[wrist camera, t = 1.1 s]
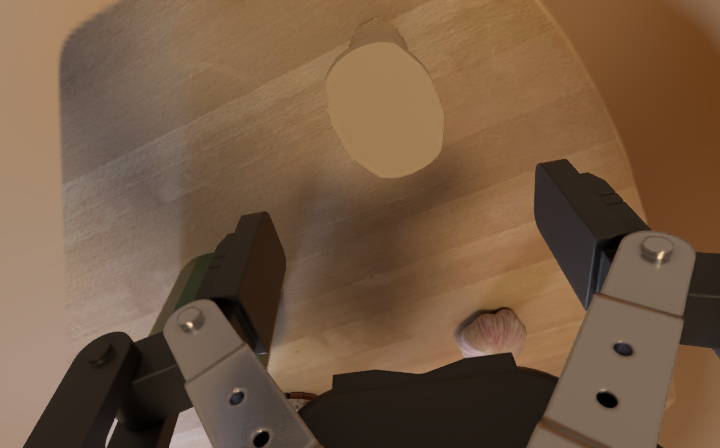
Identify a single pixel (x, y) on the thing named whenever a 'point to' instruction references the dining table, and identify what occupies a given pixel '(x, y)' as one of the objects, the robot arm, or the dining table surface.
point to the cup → (186, 293)
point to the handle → (384, 103)
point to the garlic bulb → (492, 335)
